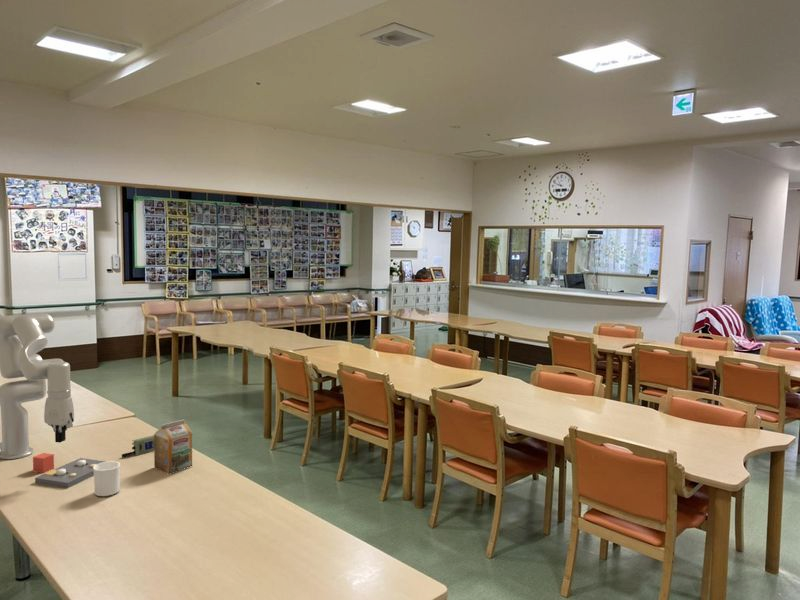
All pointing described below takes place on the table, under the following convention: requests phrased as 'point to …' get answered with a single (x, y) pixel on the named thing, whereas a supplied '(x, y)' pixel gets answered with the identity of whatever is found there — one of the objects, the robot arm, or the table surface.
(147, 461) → the table surface
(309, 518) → the table surface
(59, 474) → the cream egg in tray
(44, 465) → the cap
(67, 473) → the panel
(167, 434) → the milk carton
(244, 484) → the table surface
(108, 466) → the mug
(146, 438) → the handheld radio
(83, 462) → the white egg
